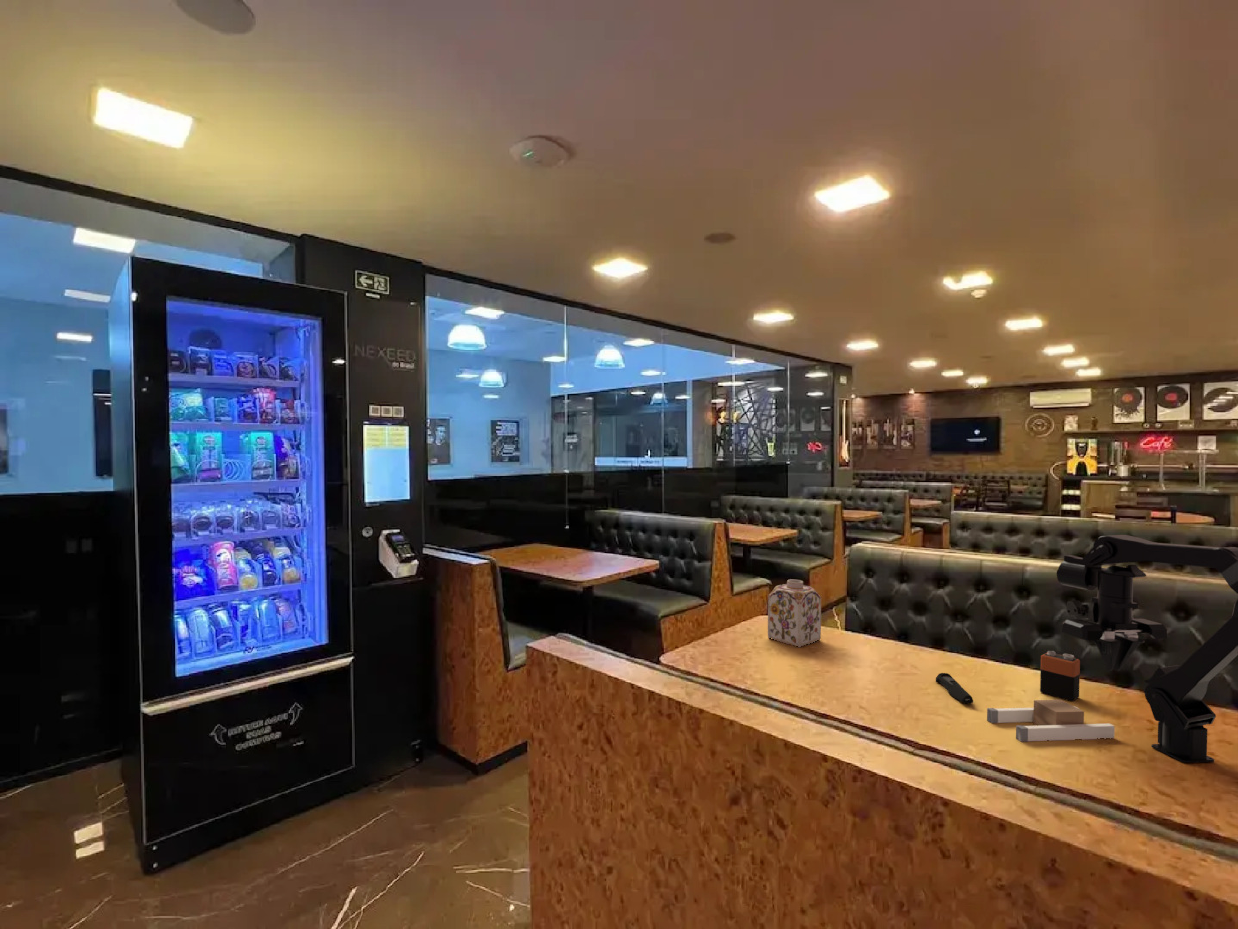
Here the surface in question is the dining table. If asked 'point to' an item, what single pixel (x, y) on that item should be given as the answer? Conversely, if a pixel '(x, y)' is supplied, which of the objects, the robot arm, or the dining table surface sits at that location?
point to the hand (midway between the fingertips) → (1112, 670)
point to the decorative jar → (794, 614)
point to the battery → (1060, 675)
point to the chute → (1047, 726)
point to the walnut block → (1056, 713)
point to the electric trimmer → (954, 688)
